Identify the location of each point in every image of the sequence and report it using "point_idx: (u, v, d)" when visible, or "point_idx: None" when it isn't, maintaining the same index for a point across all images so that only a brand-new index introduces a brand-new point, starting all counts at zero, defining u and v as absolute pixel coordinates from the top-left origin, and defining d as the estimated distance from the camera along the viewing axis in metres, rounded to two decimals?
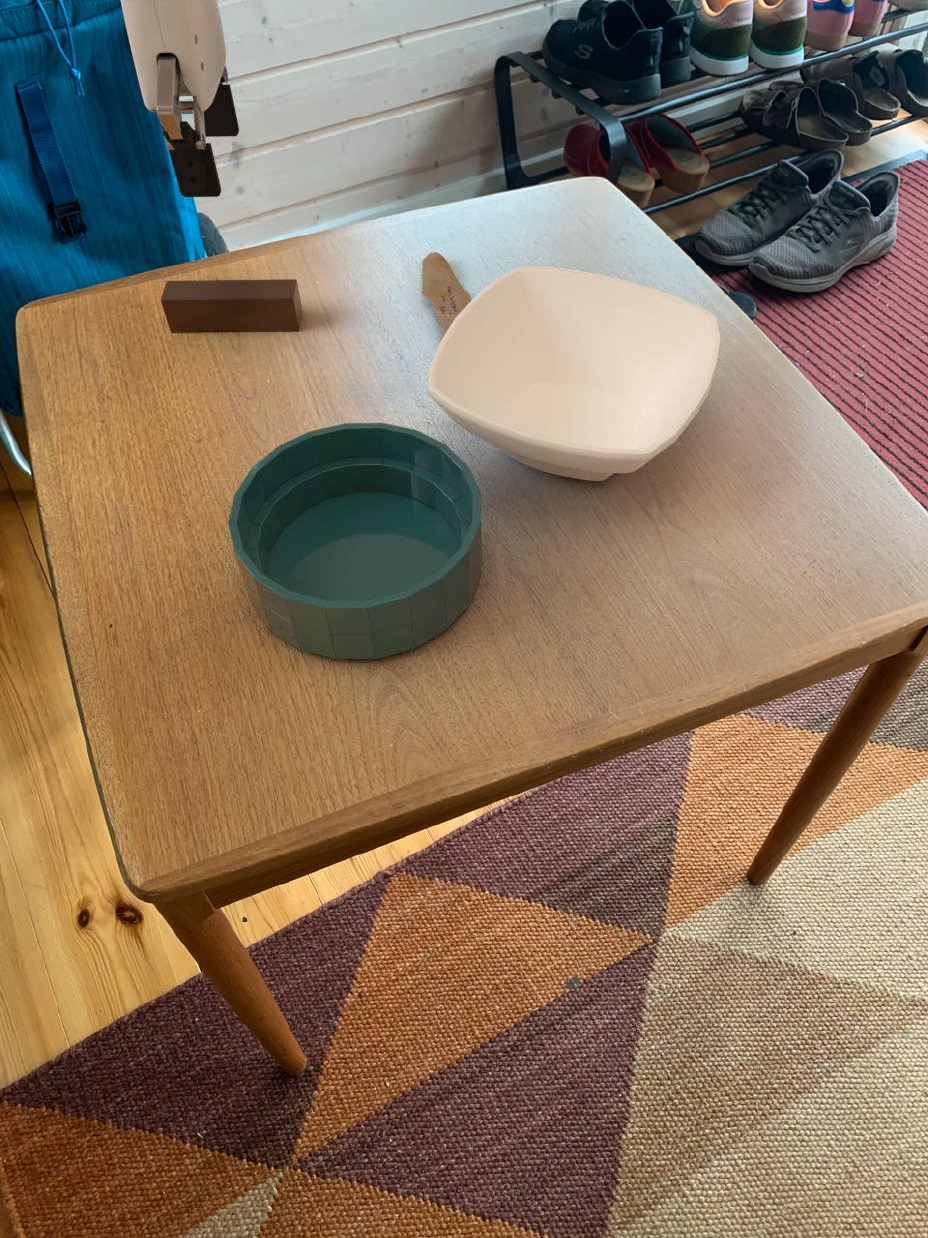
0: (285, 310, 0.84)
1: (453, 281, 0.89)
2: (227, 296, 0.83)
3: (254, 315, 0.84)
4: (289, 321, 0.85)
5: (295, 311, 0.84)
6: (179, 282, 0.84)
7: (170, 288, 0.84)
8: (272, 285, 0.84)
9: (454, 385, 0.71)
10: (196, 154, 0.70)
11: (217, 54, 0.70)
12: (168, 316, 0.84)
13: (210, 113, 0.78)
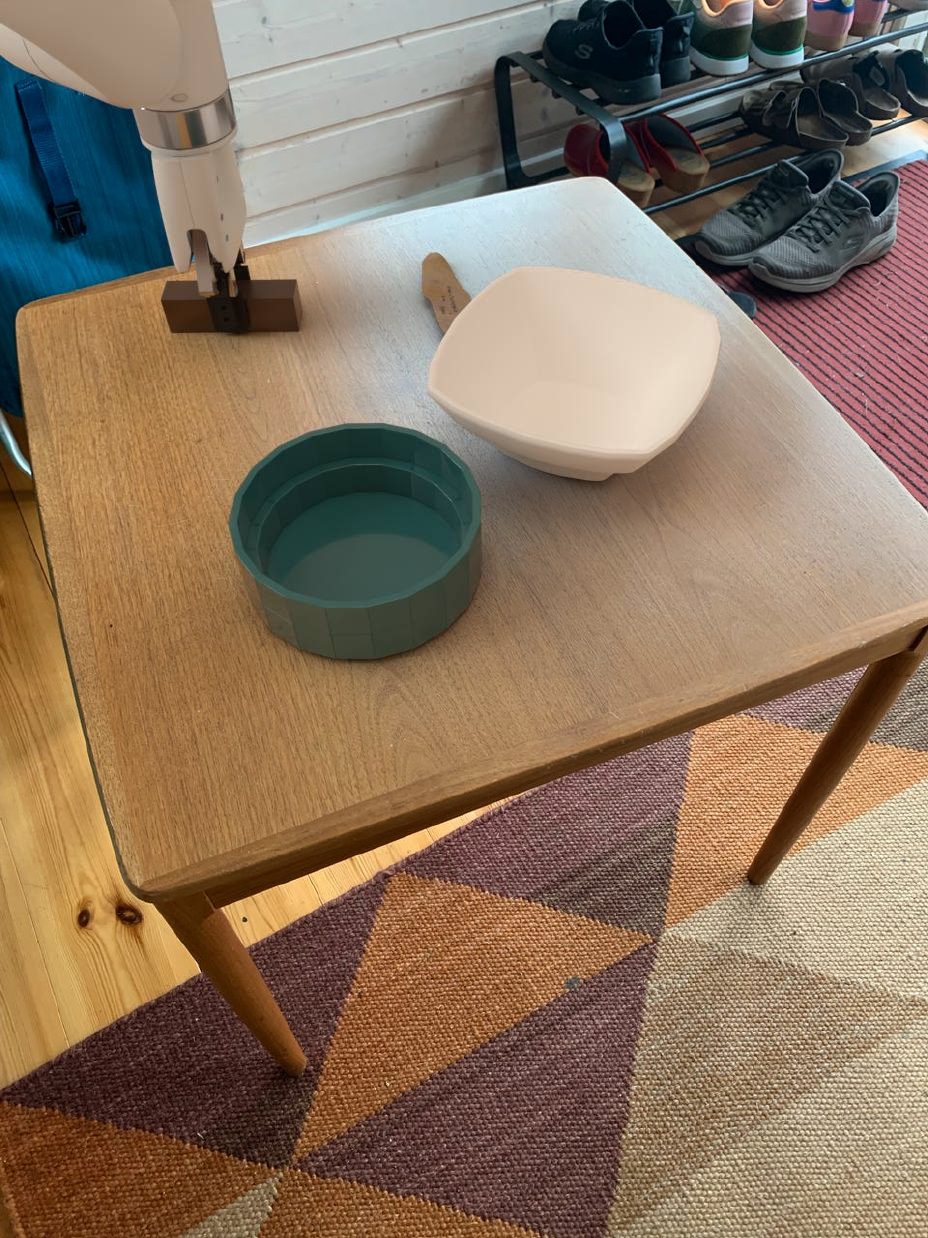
0: (285, 310, 0.84)
1: (453, 281, 0.89)
2: None
3: (254, 314, 0.84)
4: (289, 321, 0.85)
5: (295, 311, 0.84)
6: (179, 282, 0.84)
7: (170, 288, 0.84)
8: (272, 285, 0.84)
9: (454, 385, 0.71)
10: (229, 300, 0.81)
11: (239, 219, 0.79)
12: (168, 316, 0.84)
13: None
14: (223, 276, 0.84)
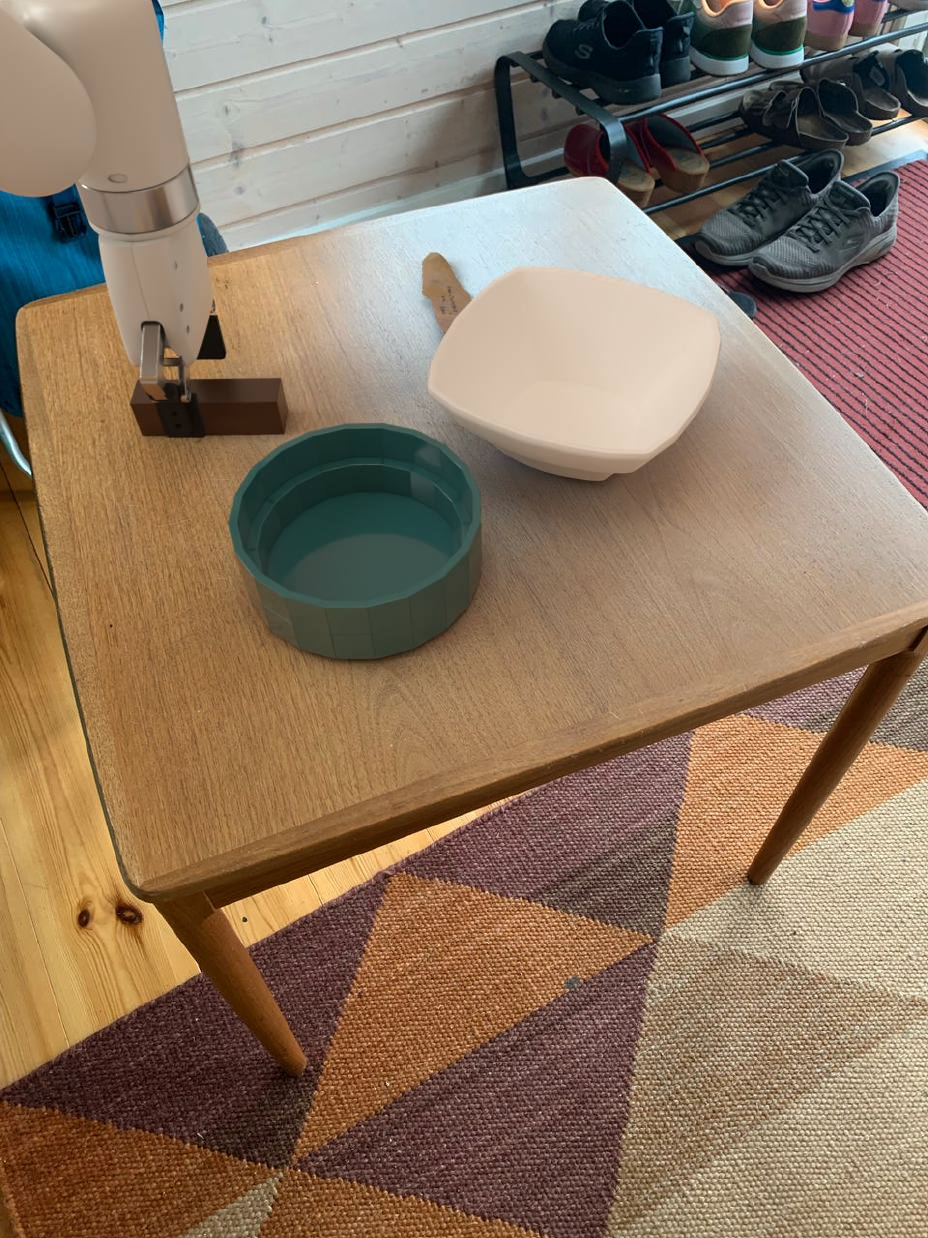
0: (268, 413, 0.76)
1: (453, 281, 0.89)
2: (203, 399, 0.75)
3: (234, 418, 0.76)
4: (272, 424, 0.76)
5: (279, 414, 0.76)
6: None
7: (140, 389, 0.76)
8: (254, 385, 0.76)
9: (454, 385, 0.71)
10: (181, 406, 0.69)
11: (204, 305, 0.69)
12: (139, 419, 0.76)
13: None
14: None
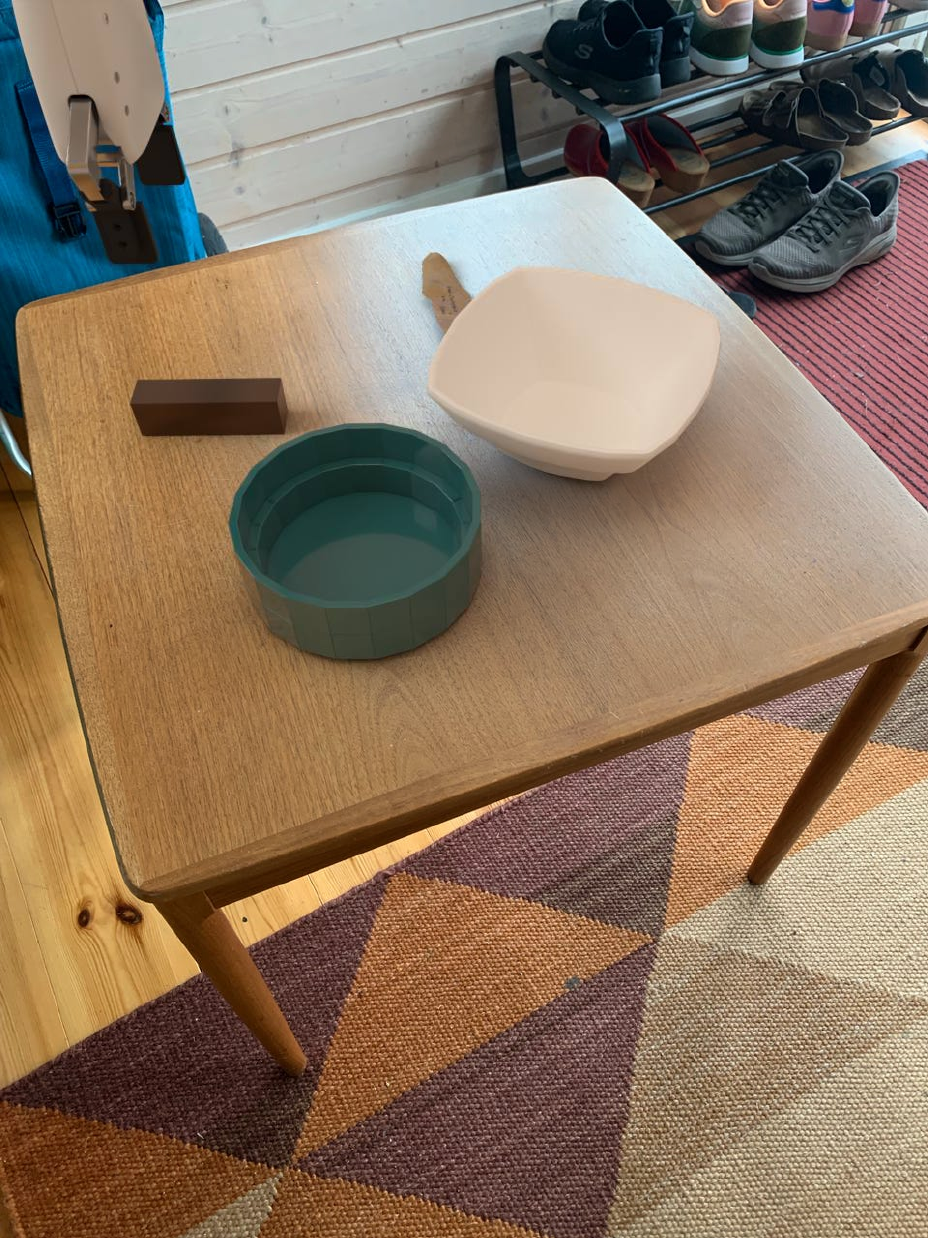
0: (268, 413, 0.76)
1: (453, 281, 0.89)
2: (203, 399, 0.75)
3: (234, 418, 0.76)
4: (272, 424, 0.76)
5: (279, 414, 0.76)
6: (151, 382, 0.76)
7: (140, 389, 0.76)
8: (254, 385, 0.76)
9: (454, 385, 0.71)
10: (124, 216, 0.57)
11: (150, 92, 0.57)
12: (139, 419, 0.76)
13: (149, 159, 0.65)
14: None
